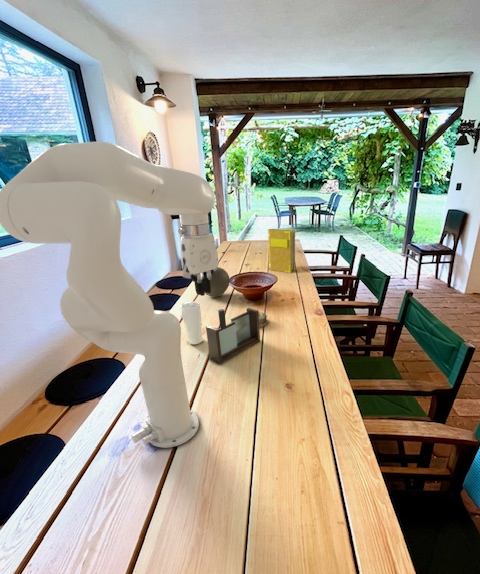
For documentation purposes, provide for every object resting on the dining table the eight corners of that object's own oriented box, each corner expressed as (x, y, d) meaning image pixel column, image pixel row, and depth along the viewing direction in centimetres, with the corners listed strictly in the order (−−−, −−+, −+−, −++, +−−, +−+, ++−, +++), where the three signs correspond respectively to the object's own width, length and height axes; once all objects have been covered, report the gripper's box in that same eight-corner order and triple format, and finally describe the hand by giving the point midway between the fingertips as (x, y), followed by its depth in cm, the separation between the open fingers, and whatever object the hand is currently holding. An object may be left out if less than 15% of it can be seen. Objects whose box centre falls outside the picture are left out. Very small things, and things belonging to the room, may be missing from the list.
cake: (271, 321, 137) (272, 309, 135) (260, 331, 129) (260, 319, 127) (251, 315, 141) (251, 304, 138) (239, 325, 133) (239, 313, 131)
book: (295, 270, 205) (295, 229, 195) (290, 272, 200) (290, 231, 190) (272, 267, 214) (271, 228, 203) (267, 269, 209) (265, 230, 198)
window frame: (219, 364, 106) (215, 330, 101) (209, 359, 109) (205, 326, 104) (260, 341, 120) (258, 310, 115) (250, 337, 123) (248, 307, 118)
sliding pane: (220, 358, 107) (215, 314, 100) (216, 356, 108) (211, 312, 102) (238, 348, 113) (235, 306, 106) (234, 347, 114) (231, 304, 107)
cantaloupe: (218, 302, 158) (215, 273, 152) (197, 298, 165) (193, 269, 159) (235, 293, 169) (233, 265, 163) (215, 290, 176) (212, 263, 170)
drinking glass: (200, 346, 118) (195, 308, 112) (183, 345, 119) (177, 308, 113) (207, 338, 124) (202, 301, 118) (190, 336, 125) (185, 301, 119)
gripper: (179, 236, 81) (189, 304, 88) (226, 227, 91) (231, 288, 99) (163, 233, 85) (174, 298, 93) (209, 225, 96) (215, 284, 104)
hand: (203, 293), depth 96 cm, fingers closed
